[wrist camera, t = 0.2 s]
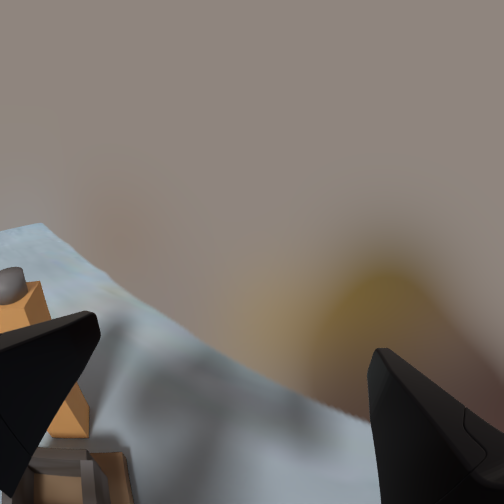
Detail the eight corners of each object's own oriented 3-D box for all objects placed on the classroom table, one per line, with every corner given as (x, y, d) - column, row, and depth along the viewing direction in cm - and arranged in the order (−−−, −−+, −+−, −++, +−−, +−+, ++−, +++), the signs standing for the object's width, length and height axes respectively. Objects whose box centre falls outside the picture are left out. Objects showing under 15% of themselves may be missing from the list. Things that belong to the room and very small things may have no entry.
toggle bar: (88, 438, 18) (17, 285, 12) (52, 437, 16) (-26, 290, 11) (89, 407, 21) (35, 262, 16) (56, 407, 20) (-4, 266, 15)
